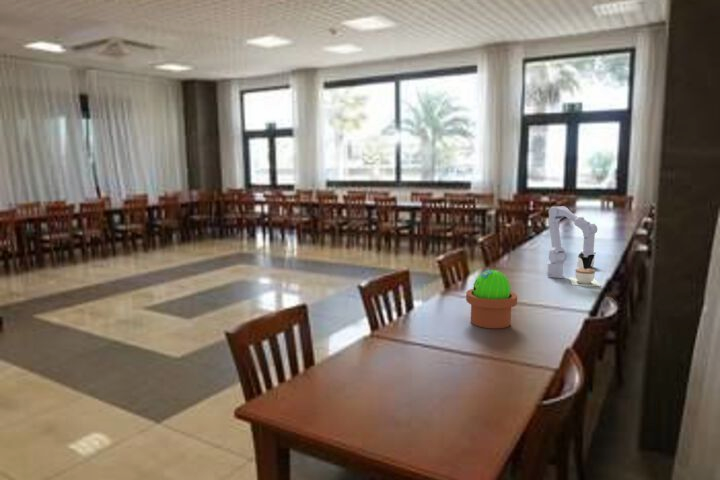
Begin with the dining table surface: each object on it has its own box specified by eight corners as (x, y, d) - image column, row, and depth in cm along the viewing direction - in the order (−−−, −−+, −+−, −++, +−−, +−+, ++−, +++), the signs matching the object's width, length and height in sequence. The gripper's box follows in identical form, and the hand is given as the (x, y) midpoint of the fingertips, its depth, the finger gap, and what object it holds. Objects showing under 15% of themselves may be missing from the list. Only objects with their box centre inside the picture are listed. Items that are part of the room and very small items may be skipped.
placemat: (573, 284, 310) (573, 284, 310) (568, 277, 328) (568, 277, 328) (600, 286, 306) (600, 285, 306) (594, 279, 324) (594, 278, 324)
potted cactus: (506, 315, 250) (509, 263, 246) (522, 330, 228) (525, 274, 224) (460, 316, 249) (462, 264, 245) (472, 331, 227) (474, 274, 223)
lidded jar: (597, 285, 308) (598, 269, 307) (578, 284, 309) (579, 269, 307) (589, 280, 319) (590, 265, 318) (571, 280, 319) (572, 265, 318)
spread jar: (591, 266, 364) (592, 249, 362) (596, 269, 353) (598, 252, 351) (573, 265, 365) (574, 249, 363) (578, 269, 354) (579, 252, 352)
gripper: (593, 247, 300) (592, 270, 302) (598, 243, 312) (596, 266, 314) (580, 245, 304) (578, 269, 306) (585, 242, 316) (584, 264, 318)
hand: (587, 267), depth 310 cm, fingers open, 7 cm apart
